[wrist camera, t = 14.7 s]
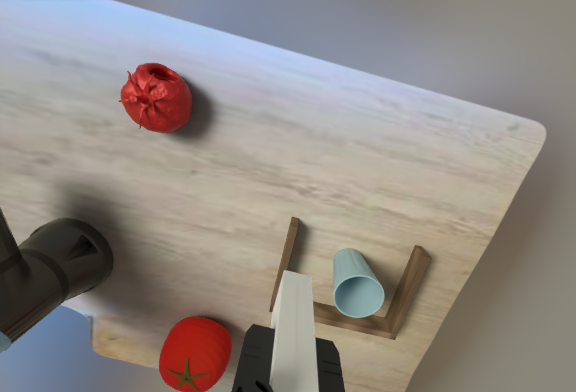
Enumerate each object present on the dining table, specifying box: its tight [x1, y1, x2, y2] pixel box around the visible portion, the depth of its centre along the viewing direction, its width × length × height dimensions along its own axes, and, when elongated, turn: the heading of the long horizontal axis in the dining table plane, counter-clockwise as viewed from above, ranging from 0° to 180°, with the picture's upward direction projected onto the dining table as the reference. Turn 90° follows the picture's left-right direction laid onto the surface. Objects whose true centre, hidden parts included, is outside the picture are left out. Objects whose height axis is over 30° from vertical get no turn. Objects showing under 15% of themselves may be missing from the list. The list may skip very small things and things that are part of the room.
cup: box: [333, 249, 385, 318], centre depth 46 cm, size 8×8×10 cm
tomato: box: [159, 317, 231, 392], centre depth 53 cm, size 13×14×12 cm
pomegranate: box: [119, 63, 192, 133], centre depth 40 cm, size 10×10×9 cm
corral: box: [270, 217, 431, 340], centre depth 50 cm, size 24×18×4 cm
